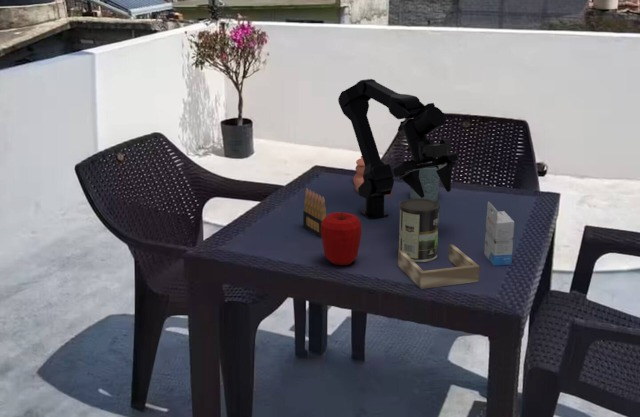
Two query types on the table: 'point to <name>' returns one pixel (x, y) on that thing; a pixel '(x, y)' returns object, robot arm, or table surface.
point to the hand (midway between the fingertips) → (436, 194)
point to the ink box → (498, 237)
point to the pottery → (360, 174)
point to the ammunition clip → (313, 212)
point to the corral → (441, 270)
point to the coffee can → (419, 229)
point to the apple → (341, 237)
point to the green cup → (428, 184)
